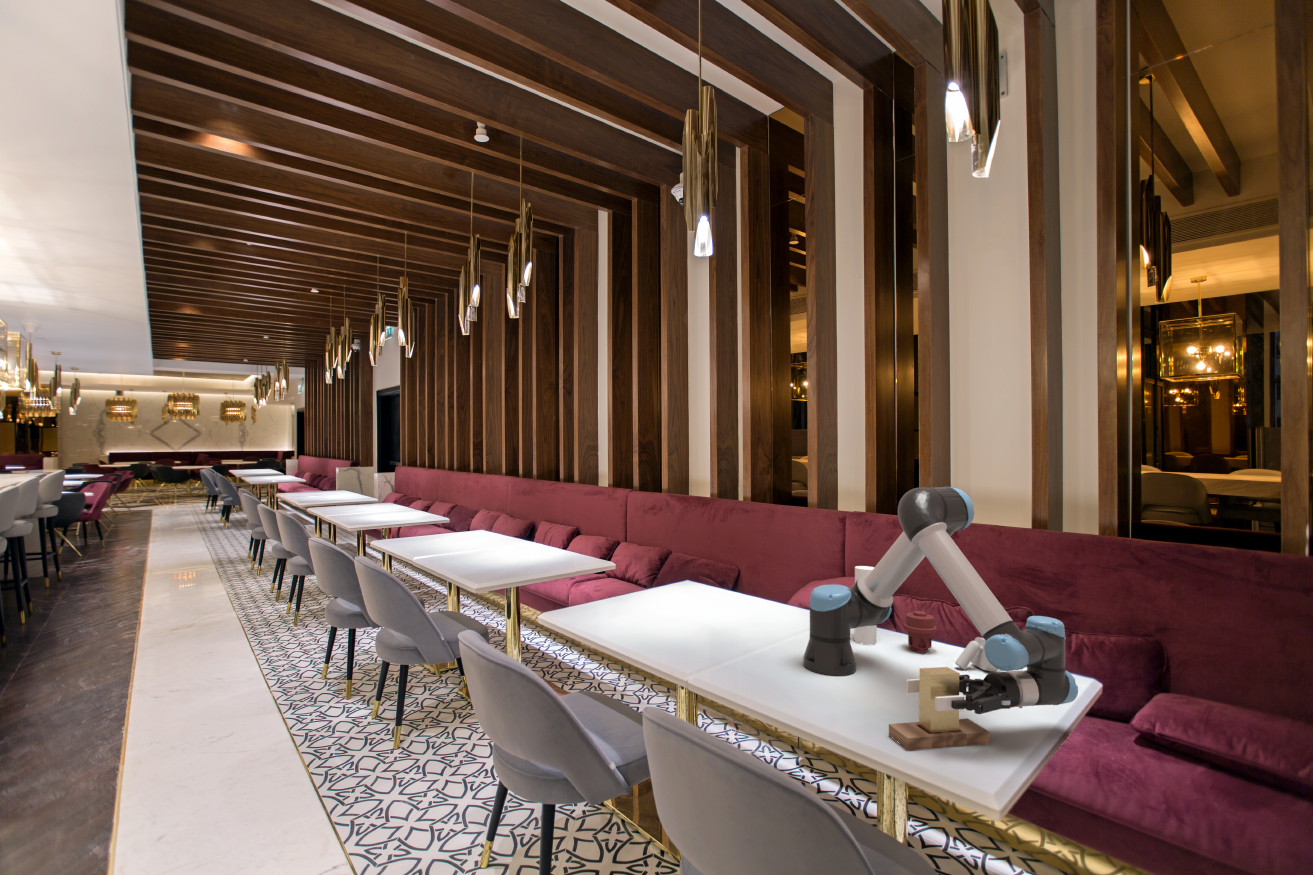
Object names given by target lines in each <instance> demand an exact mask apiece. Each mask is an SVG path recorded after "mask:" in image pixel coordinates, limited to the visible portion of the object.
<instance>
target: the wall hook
mask: <svg viewBox="0 0 1313 875" xmlns="http://www.w3.org/2000/svg"><path fill="white" fill-rule="evenodd" d="M985 642H986V641H985V639H984V638H983V637H980V636H976V637H975V638H974V640H971V641H969V642H968V644H967V645H966V647H965V648H964V649H963V651H962V652H961V653H960V655H959V656H958V657H957V659H956V661H955V662H954V663H955V665H957V666H958V667H959V668H960V669H962V670H964V671H965V670H966V668H967V667H968V666H969V664H970V663H971V664H972V665H974V666H976V667H978V668H980V669H981V670H984V671H987V672H989V673H991V672H998V670H999V669H997V668H995V667H994V666H993V665H991V664H990V662H989V661H988V660H987V658H986V655H985V651H984V645H985Z"/></svg>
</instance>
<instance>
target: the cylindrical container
mask: <svg viewBox="0 0 1313 875" xmlns="http://www.w3.org/2000/svg"><path fill="white" fill-rule="evenodd" d="M874 568H875V566H869V565H856V566H854V584H855V583H856V581H857V580H858V579H859V578H860V577H861V576H868V575H869V574H870V573H871V571H872V570H873V569H874ZM877 625H878V624H877ZM877 625H874V626H864V627H858V628H853V629H854V630H853V631H854V633H853V635H854V636H853V641H854V640H855V641H856V642H855V641H854V642H855V643H857V642H858V643H857V644H859V643H863V644H862V645H864V644H874V645H876V644H877V633H878V632H877V630H878V629H877V627H878V626H877ZM875 643H876V644H875Z"/></svg>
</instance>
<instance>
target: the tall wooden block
mask: <svg viewBox="0 0 1313 875" xmlns="http://www.w3.org/2000/svg"><path fill="white" fill-rule="evenodd" d="M918 671H919V672H918V673H919V677H918V679H919V692H918V693H919V694H918V695H919V697H918V699H919V700H918V703H919V704H918V710H919V711H918V714H919V715H918V716H919V717H918V722H919V725H920V728H921V729H922V730H924V731H925V732H926V733H928V734H934V733H938V732H958V731H959V719H960V710H948V711H936V710H935V697H941V696H957V695H960V692H959V675H960V672H958V671H956V670H955V669H952V668H950V667H948V666H941V667H940V666H939V667H922V668H921V667H920V668H919V670H918Z"/></svg>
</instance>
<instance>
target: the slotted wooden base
mask: <svg viewBox="0 0 1313 875" xmlns="http://www.w3.org/2000/svg"><path fill="white" fill-rule="evenodd" d="M889 735H890V736H891V737H893V738H894V739H895V740H896V741H895V740H894V739H893V738H892V739H893V740H894V741H895V742H897V741H898V742H899V743H900V744H901V745H900V744H899V743H898V742H897V743H898V744H899V745H900V746H901V747H903V748H904V747H905V748H906V749H905V748H904V749H905V750H907V751H914V750H915V751H916V750H918V751H919V750H927V749H939V748H940V749H941V748H951V747H953V748H954V746H955V747H965V746H979V745H980V746H981V745H990V744H991V732H990V730H987V729H986V728H984V727H982V726H981V725H979V723H976V722H975V721H973V720H971V719H970V718H959V731H958V732H938V733H934V734H928V733H926V732H925V731H924V730H922V729H921V728H920V725H919V721H915V722H914V721H913V722H912V721H911V722H900V723H888V736H889ZM890 736H889V737H890ZM891 737H890V738H891Z"/></svg>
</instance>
